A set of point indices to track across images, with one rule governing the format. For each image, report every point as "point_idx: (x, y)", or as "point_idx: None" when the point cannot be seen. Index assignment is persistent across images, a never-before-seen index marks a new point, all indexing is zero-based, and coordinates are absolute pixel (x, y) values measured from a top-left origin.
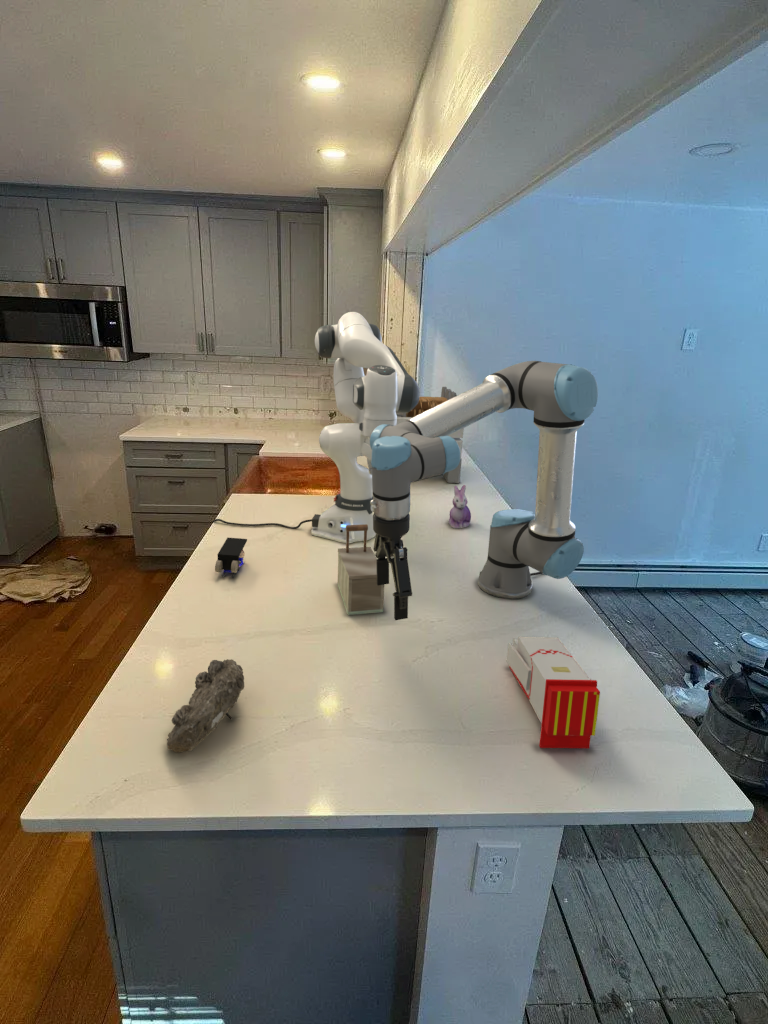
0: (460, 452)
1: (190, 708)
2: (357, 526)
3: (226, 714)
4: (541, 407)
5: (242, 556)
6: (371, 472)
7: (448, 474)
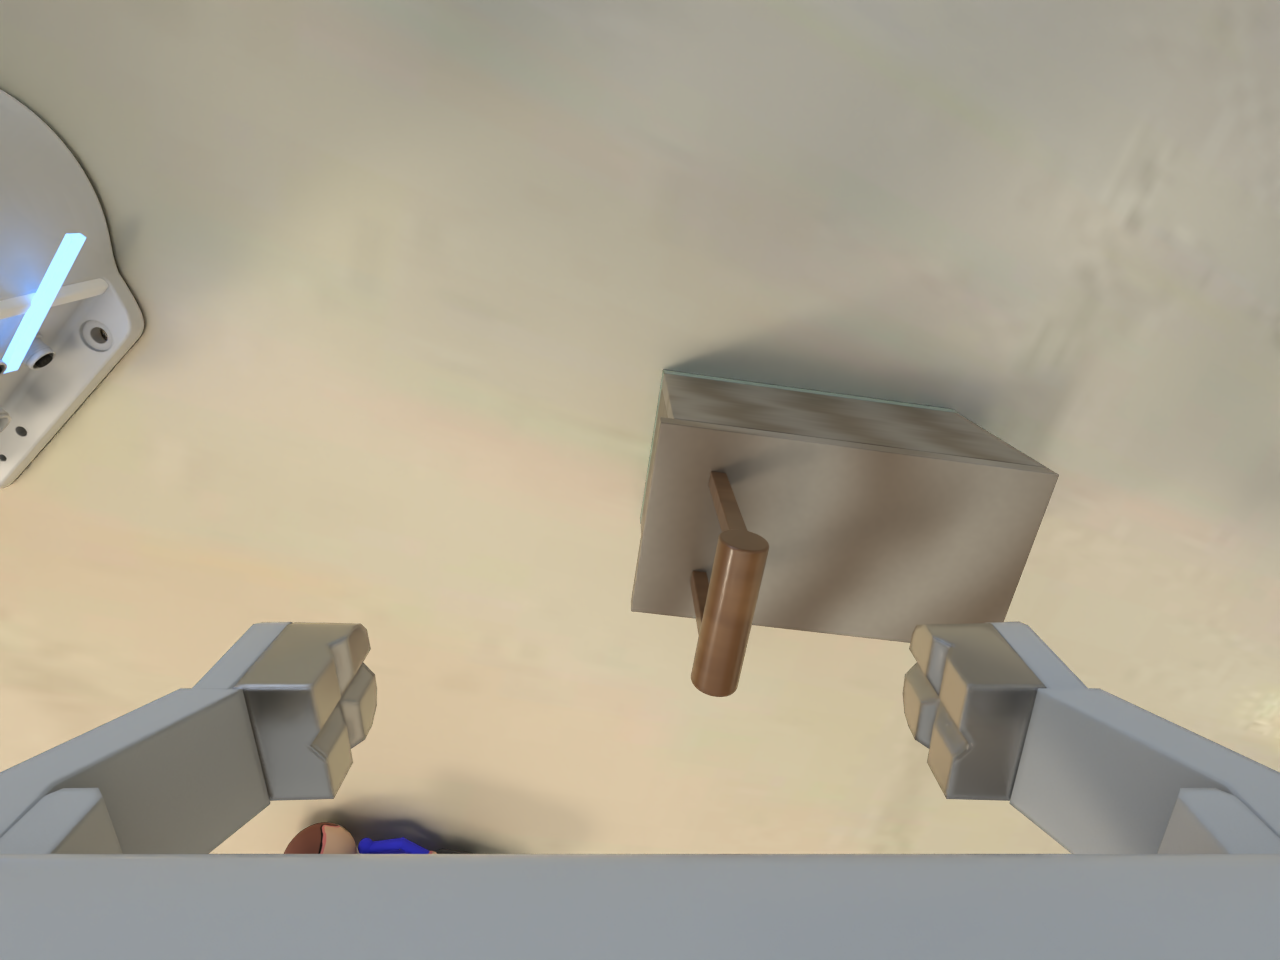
0: None
1: None
2: (748, 624)
3: None
4: None
5: (341, 842)
6: (356, 723)
7: None
